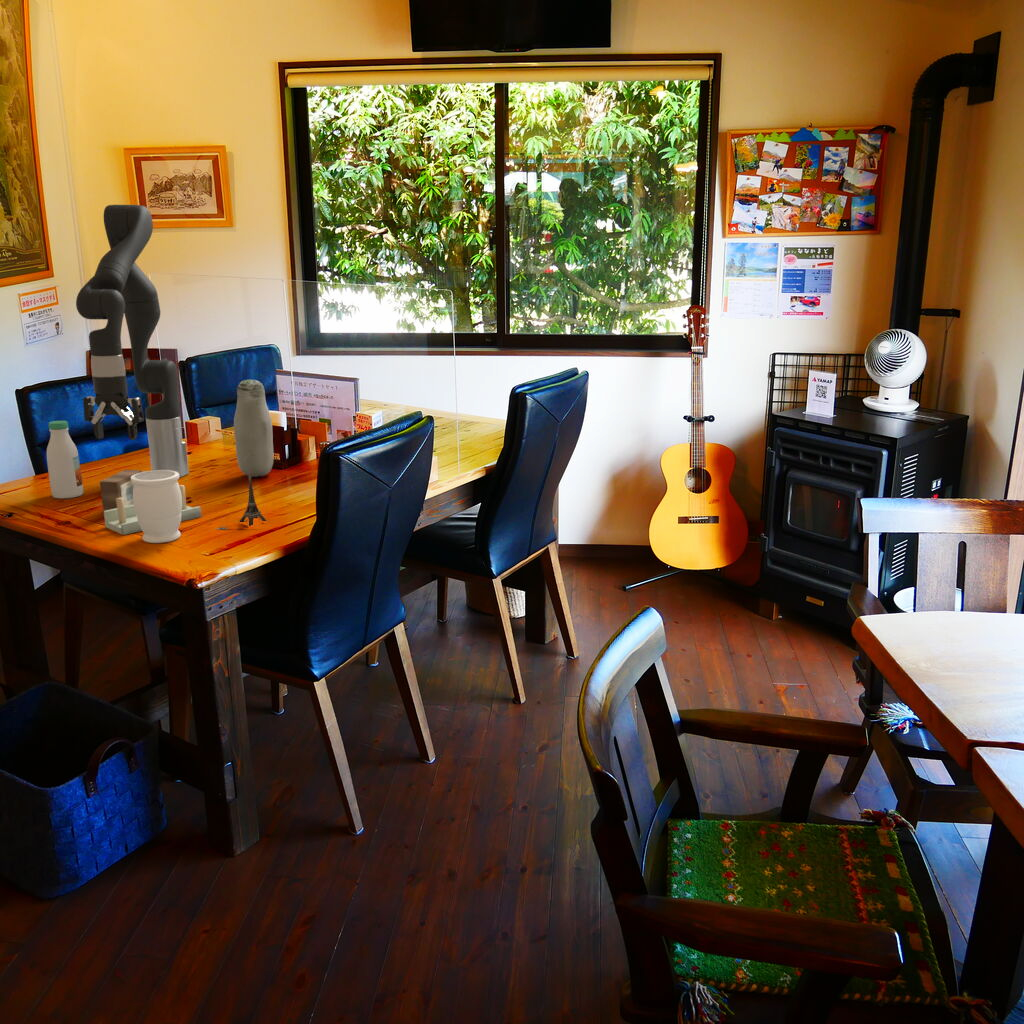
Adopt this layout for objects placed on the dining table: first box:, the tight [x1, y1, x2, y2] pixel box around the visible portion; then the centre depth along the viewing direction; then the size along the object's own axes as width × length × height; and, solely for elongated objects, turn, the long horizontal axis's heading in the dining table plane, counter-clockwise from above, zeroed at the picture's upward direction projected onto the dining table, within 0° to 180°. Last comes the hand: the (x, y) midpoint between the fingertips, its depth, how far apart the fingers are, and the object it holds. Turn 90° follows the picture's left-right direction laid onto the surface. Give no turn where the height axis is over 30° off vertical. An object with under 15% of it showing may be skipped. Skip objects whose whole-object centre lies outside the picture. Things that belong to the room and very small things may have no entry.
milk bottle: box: [46, 420, 84, 500], centre depth 243 cm, size 8×8×20 cm
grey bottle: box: [233, 379, 275, 478], centre depth 263 cm, size 10×10×28 cm
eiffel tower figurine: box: [216, 472, 267, 530], centre depth 222 cm, size 15×10×13 cm
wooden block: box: [99, 469, 143, 513], centre depth 233 cm, size 12×5×9 cm, turn 173°
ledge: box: [103, 484, 202, 536], centre depth 223 cm, size 20×9×8 cm, turn 138°
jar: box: [131, 470, 182, 544], centre depth 210 cm, size 11×10×15 cm
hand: (116, 438), depth 229 cm, fingers open, 8 cm apart
